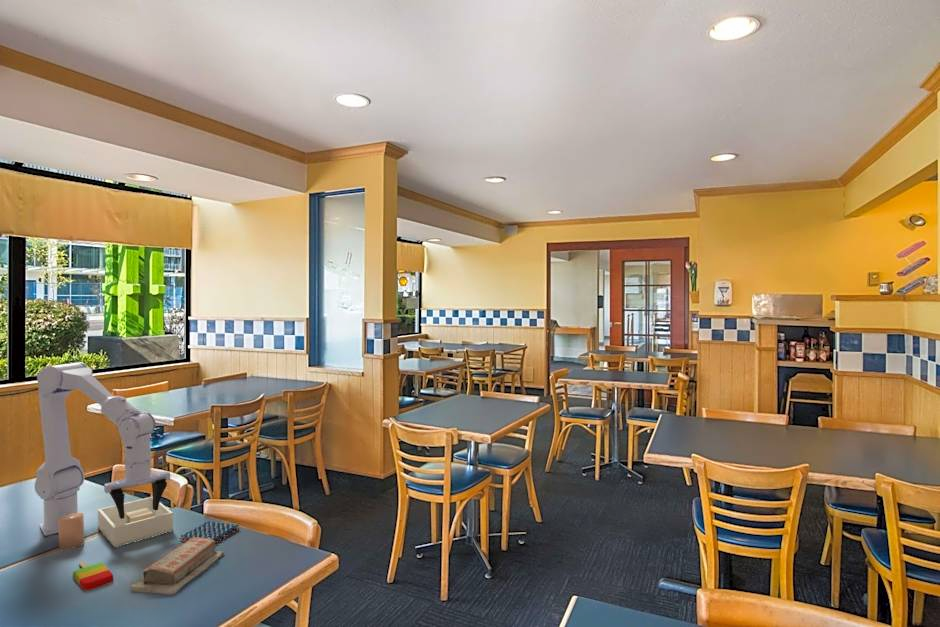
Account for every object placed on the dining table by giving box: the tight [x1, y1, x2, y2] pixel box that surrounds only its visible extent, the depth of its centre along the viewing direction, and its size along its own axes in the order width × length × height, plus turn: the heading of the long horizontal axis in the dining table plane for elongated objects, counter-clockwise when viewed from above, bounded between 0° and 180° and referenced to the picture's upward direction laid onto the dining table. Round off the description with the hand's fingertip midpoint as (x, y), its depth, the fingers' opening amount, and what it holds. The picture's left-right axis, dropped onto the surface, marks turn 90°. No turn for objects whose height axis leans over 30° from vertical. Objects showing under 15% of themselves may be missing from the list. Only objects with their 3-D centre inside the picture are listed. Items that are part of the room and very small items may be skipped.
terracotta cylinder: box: [58, 512, 85, 550], centre depth 135 cm, size 5×5×7 cm
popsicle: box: [72, 560, 114, 591], centre depth 120 cm, size 6×15×2 cm, turn 48°
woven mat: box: [179, 520, 240, 544], centre depth 140 cm, size 10×11×2 cm
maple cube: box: [125, 508, 153, 524], centre depth 141 cm, size 5×5×5 cm
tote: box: [97, 496, 174, 548], centre depth 143 cm, size 17×13×5 cm
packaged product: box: [129, 537, 225, 595], centre depth 121 cm, size 18×5×10 cm
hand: (138, 513), depth 141 cm, fingers open, 7 cm apart
